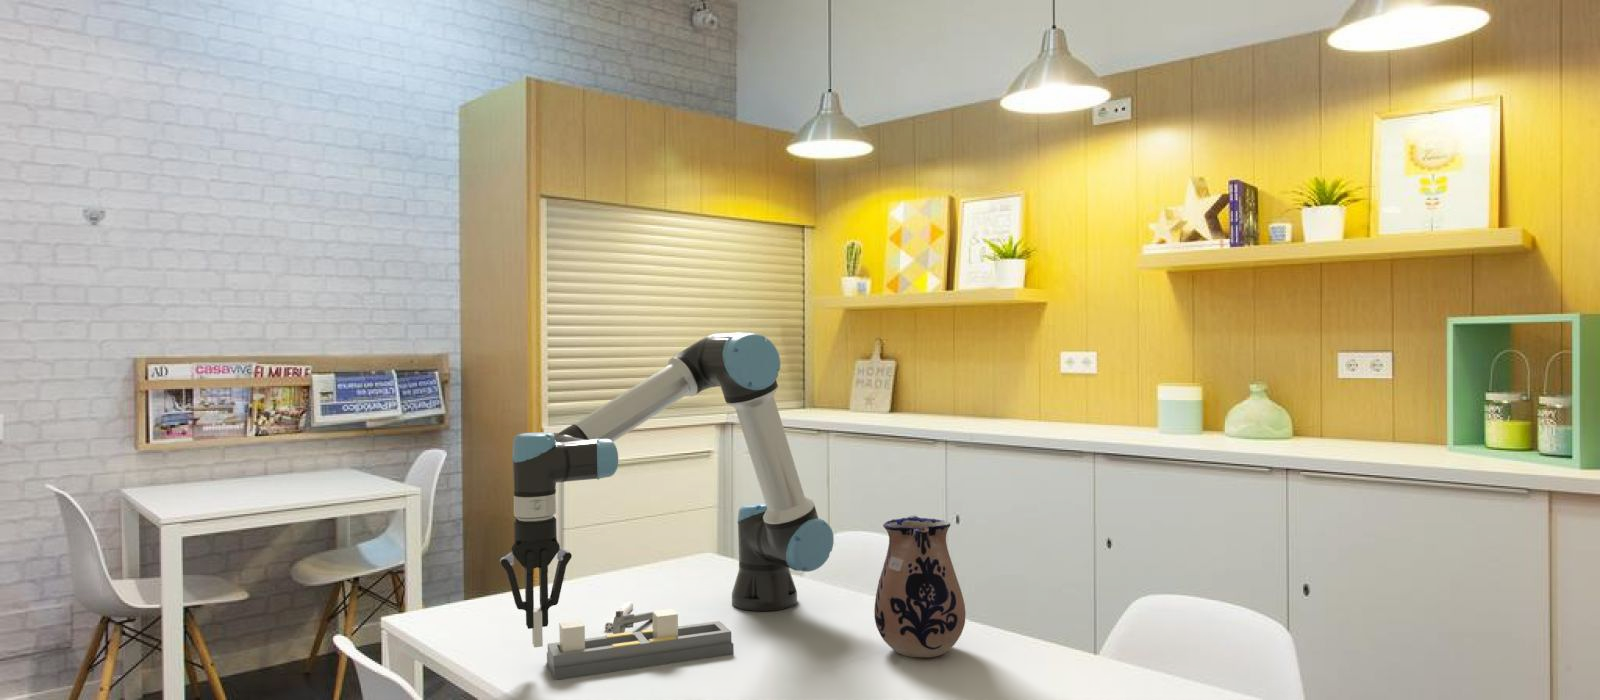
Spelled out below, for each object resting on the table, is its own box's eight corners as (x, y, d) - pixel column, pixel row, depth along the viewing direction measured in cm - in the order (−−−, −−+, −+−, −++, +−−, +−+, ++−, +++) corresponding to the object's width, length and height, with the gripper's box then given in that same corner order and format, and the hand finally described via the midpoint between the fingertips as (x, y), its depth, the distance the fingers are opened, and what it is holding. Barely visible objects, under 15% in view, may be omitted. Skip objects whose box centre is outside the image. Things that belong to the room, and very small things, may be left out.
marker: (626, 607, 219) (626, 597, 219) (635, 607, 219) (635, 597, 219) (604, 632, 201) (604, 620, 201) (614, 632, 201) (614, 621, 201)
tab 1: (581, 651, 181) (580, 620, 181) (585, 658, 177) (584, 625, 177) (559, 654, 179) (559, 622, 179) (563, 661, 176) (562, 628, 176)
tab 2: (672, 639, 188) (672, 608, 188) (678, 645, 184) (677, 614, 184) (652, 641, 186) (652, 611, 186) (657, 647, 183) (657, 616, 183)
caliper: (617, 644, 193) (617, 613, 193) (612, 643, 193) (612, 612, 193) (662, 615, 212) (662, 587, 212) (658, 615, 213) (658, 587, 213)
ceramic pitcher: (887, 669, 176) (885, 534, 175) (862, 634, 196) (860, 513, 196) (978, 663, 178) (977, 529, 178) (944, 629, 199) (942, 509, 199)
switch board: (717, 638, 195) (717, 618, 195) (733, 653, 185) (733, 632, 185) (546, 662, 182) (546, 640, 181) (554, 680, 172) (554, 656, 172)
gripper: (500, 523, 170) (502, 656, 170) (574, 517, 175) (576, 645, 175) (496, 516, 177) (498, 643, 177) (567, 510, 182) (570, 634, 182)
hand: (537, 644), depth 176 cm, fingers closed
